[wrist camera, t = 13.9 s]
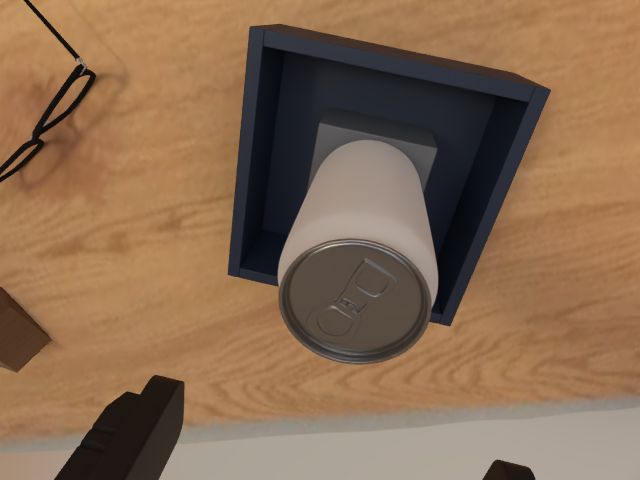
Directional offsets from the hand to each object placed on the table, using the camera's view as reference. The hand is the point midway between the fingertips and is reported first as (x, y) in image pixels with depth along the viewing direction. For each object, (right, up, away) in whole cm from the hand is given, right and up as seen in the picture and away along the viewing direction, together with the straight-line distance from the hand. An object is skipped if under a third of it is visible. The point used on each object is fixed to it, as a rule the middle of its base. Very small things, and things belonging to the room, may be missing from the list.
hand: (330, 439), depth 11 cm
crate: (+3, +11, +21) cm, 24 cm away
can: (+3, +8, +15) cm, 18 cm away
